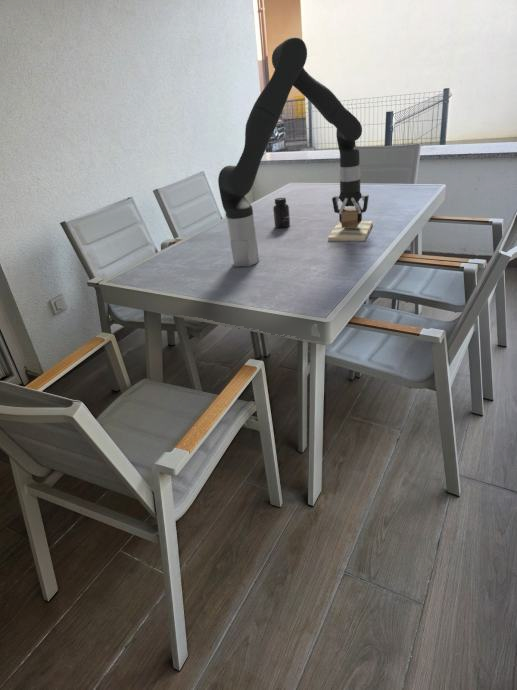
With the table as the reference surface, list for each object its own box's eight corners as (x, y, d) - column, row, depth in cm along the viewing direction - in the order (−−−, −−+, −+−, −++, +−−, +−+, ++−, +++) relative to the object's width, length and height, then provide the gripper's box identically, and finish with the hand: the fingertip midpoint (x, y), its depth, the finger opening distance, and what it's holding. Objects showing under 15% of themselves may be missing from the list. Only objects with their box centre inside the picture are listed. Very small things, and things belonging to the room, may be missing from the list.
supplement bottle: (289, 228, 192) (286, 200, 186) (273, 229, 194) (270, 201, 187) (291, 223, 198) (288, 196, 192) (276, 224, 199) (273, 197, 193)
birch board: (364, 240, 166) (364, 236, 165) (328, 241, 171) (327, 237, 170) (372, 224, 181) (372, 220, 181) (338, 225, 187) (338, 221, 186)
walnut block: (357, 227, 171) (356, 211, 168) (341, 227, 173) (341, 212, 170) (359, 222, 176) (359, 207, 173) (344, 223, 178) (344, 208, 175)
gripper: (328, 181, 165) (330, 226, 174) (367, 179, 160) (367, 225, 169) (333, 177, 171) (334, 220, 180) (371, 175, 166) (370, 219, 175)
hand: (350, 222), depth 174 cm, fingers closed on walnut block, 6 cm apart
